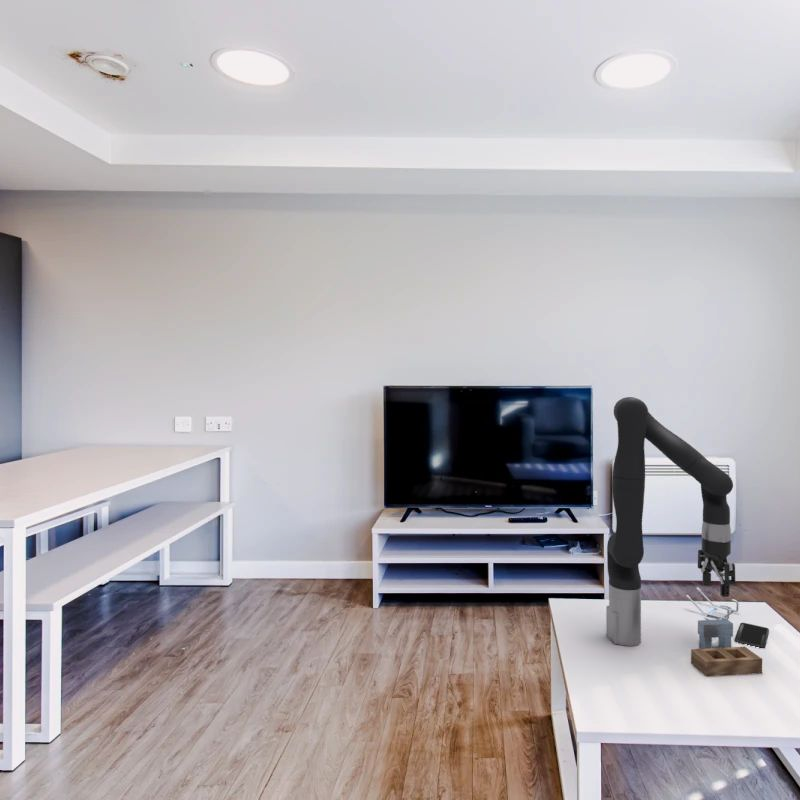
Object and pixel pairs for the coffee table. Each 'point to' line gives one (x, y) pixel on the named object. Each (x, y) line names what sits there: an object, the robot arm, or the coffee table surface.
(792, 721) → the coffee table surface
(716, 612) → the silver thin wire frame
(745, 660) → the two-pocket wooden block
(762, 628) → the phone
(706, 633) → the brushed steel block
